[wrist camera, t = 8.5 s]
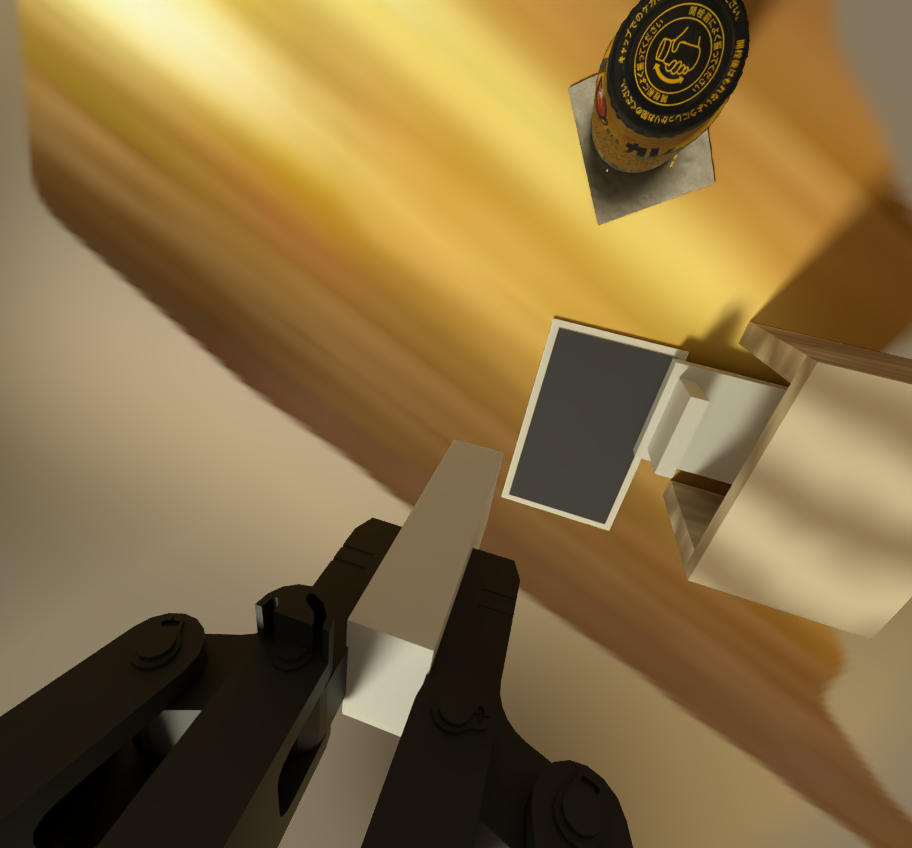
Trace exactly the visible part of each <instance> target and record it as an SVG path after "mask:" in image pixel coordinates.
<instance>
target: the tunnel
mask: <svg viewBox="0 0 912 848" xmlns="http://www.w3.org/2000/svg"><path fill="white" fill-rule="evenodd" d="M739 344H740V345H741V346H743V347H744V348H745V349H747V350H748V351H749V352H750V353H752V354H753V355H754V356H756V357H757V358H758V359H759V360H761V361H762V362H763V363H765V364H766V365H767V366H769V367H770V368H771V369H772V370H774V371H775V372H776V373H778V374H779V375H780V376H782V377H783V378H784V379H785V380H787V381H788V382H789V383H791V384H790V386H789V387H788V389H787V391H786V393H785V394H784V396H783V398H782V400H781V401H780V403H779V405H778V406H777V408H776V410H775V412H774V413H773V415H772V417H771V419H770V420H769V422H768V424H767V425H766V427H765V429H764V431H763V432H762V434H761V436H760V438H759V439H758V441H757V443H756V444H755V446H754V448H753V450H752V451H751V453H750V455H749V457H748V458H747V460H746V462H745V463H744V465H743V467H742V469H741V470H740V472H739V474H738V476H737V477H736V479H735V481H734V482H733V484H732V486H731V488H730V489H729V491H728V493H727V495H726V496H723V495H720V494H717V493H713V492H710V491H706V490H703V489H699V488H696V487H693V486H689V485H686V484H682V483H679V482H675V481H672V480H670V482H669V484H668V486H667V488H666V490H665V492H664V494H663V497H664V500H665V504H666V507H667V511H668V514H669V517H670V521H671V524H672V528H673V531H674V534H675V538H676V541H677V545H678V548H679V551H680V555H681V558H682V562H683V565H684V568H685V572H686V575H687V579H688V580H689V581H692V582H695V583H698V584H701V585H704V586H707V587H710V588H714V589H717V590H720V591H723V592H726V593H729V594H732V595H735V596H738V597H741V598H745V599H748V600H751V601H754V602H757V603H760V604H763V605H766V606H769V607H772V608H776V609H779V610H782V611H785V612H788V613H791V614H794V615H797V616H800V617H803V618H806V619H810V620H813V621H816V622H819V623H822V624H825V625H828V626H831V627H834V628H837V629H841V630H844V631H847V632H850V633H853V634H856V635H859V636H862V637H866V638H869V639H872V638H873V637H874V636H875V635H876V634H877V633H878V632H879V630H881V629H882V628H883V627H884V626H885V624H886V623H887V622H888V621H889V620H890V619H891V618H892V617H893V616H894V615H895V614H896V613H897V612H898V611H899V610H900V608H901V607H902V606H903V605H904V604H905V603H906V602H907V601H908V600H909V599H910V598H911V597H912V360H911V359H907V358H903V357H898V356H894V355H890V354H886V353H881V352H877V351H873V350H868V349H864V348H860V347H856V346H851V345H847V344H843V343H839V342H834V341H830V340H826V339H822V338H817V337H813V336H809V335H804V334H800V333H796V332H792V331H787V330H783V329H779V328H775V327H770V326H766V325H762V324H757V323H753V322H749V324H748V326H747V328H746V330H745V332H744V334H743V336H742V338H741V340H740V342H739Z"/></svg>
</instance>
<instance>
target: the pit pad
mask: <svg viewBox="0 0 912 848" xmlns="http://www.w3.org/2000/svg"><path fill="white" fill-rule="evenodd" d="M688 354H689V352H688V351H684V350H680V349H676V348H672V347H668V346H664V345H660V344H656V343H652V342H648V341H644V340H640V339H636V338H632V337H628V336H624V335H620V334H616V333H612V332H608V331H604V330H600V329H596V328H592V327H588V326H584V325H580V324H576V323H572V322H568V321H564V320H560V319H556V318H553V322H552V325H551V329H550V332H549V336H548V339H547V342H546V346H545V349H544V353H543V356H542V359H541V363H540V366H539V370H538V373H537V377H536V380H535V383H534V387H533V390H532V394H531V397H530V401H529V404H528V407H527V411H526V414H525V418H524V421H523V424H522V428H521V431H520V435H519V438H518V442H517V445H516V448H515V452H514V455H513V459H512V462H511V465H510V469H509V472H508V476H507V479H506V483H505V486H504V489H503V493H502V496H501V497H503V498H507V499H510V500H513V501H516V502H519V503H522V504H526V505H529V506H532V507H535V508H538V509H542V510H545V511H548V512H551V513H554V514H557V515H561V516H564V517H567V518H570V519H573V520H576V521H580V522H583V523H586V524H589V525H592V526H596V527H599V528H602V529H605V530H608V531H609V530H610V528H611V526H612V523H613V521H614V519H615V517H616V514H617V512H618V510H619V508H620V506H621V503H622V501H623V499H624V497H625V494H626V492H627V490H628V488H629V486H630V483H631V481H632V479H633V477H634V474H635V472H636V470H637V468H638V466H639V463H640V461H641V458H638V457H635V456H634V451H633V449H634V447H635V444H636V442H637V440H638V438H639V435H640V433H641V431H642V428H643V426H644V424H645V421H646V419H647V417H648V415H649V412H650V410H651V408H652V405H653V403H654V401H655V398H656V396H657V394H658V392H659V389H660V387H661V385H662V382H663V380H664V378H665V375H666V373H667V371H668V369H669V366H670V364H671V362H672V359H673V358H675V359H679V360H683V361H686V359H687V357H688Z"/></svg>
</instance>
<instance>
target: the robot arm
mask: <svg viewBox="0 0 912 848" xmlns="http://www.w3.org/2000/svg"><path fill="white" fill-rule="evenodd" d="M503 454H504V452H500V451H496V450H493V449H489V448H485V447H482V446H478V445H474V444H471V443H467V442H464V441H460V440H456V439H454V440H453V442H452V444H451V445H450V447H449V449H448V450H447V452H446V454H445V455H444V457H443V459H442V460H441V462H440V464H439V466H438V467H437V469H436V471H435V472H434V474H433V476H432V477H431V479H430V481H429V483H428V484H427V486H426V488H425V489H424V491H423V493H422V494H421V496H420V498H419V499H418V501H417V503H416V505H415V506H414V508H413V510H412V511H411V513H410V515H409V516H408V518H407V520H406V522H405V523H404V525H403V527H401V526H397V525H394V524H391V523H388V522H385V521H381V520H378V519H375V518H371V519H370V520H368V521H367V522H365V523H363V524H362V525H360V526H358V527H357V528H355V529H354V531H353V532H352V533H351V535H350V536H349V538H348V539H347V540H346V542H345V543H344V545H343V547H341V548H340V550H339V551H338V552H337V554H336V555H335V557H334V559H333V561H331V562H330V563H329V565H328V566H327V568H326V569H325V570H324V571H323V573H322V574H321V576H320V577H319V578H318V580H317V581H316V583H315V584H314V585H313V586H306V585H300V584H298V585H291V586H284V587H281V588H279V589H277V590H274V591H272V592H271V593H268V594H267V595H265V596H264V597H263V598H262V599H261V600H260V601H258V602H257V603H256V604H255V608H256V619H257V628H258V629H257V630H258V633H256V634H247V635H228V634H226V635H225V634H205V633H204V628H203V627H202V625H201V624H200V623H199V621H198V620H197V619H196V618H193V617H191V616H189V615H187V614H178V613H168V614H164V615H160V616H156V617H152V618H150V619H148V620H146V621H144V622H142V623H140V624H138V625H136V626H134V627H133V628H131V629H130V630H128V631H127V632H125V633H124V634H122V635H121V636H119V637H118V638H116V639H115V640H113V641H112V642H110V643H109V644H107V645H106V646H104V647H103V648H101V649H100V650H98V651H97V652H96V653H94V654H93V655H91V656H90V657H88V658H87V659H85V660H84V661H82V662H81V663H79V664H78V665H76V666H75V667H74V668H72V669H70V670H69V671H67V672H66V673H64V674H63V675H61V676H60V677H58V678H57V679H55V680H54V681H53V682H51V683H50V684H48V685H47V686H45V687H44V688H42V689H41V690H39V691H38V692H36V693H35V694H33V695H32V696H30V697H29V698H27V699H26V700H24V701H23V702H21V703H20V704H18V705H17V706H16V707H14V708H13V709H11V710H10V711H8V712H7V713H5V714H4V715H2V716H1V717H0V848H277V847H278V845H279V843H280V841H281V839H282V837H283V835H284V833H285V831H286V829H287V827H288V825H289V823H290V821H291V819H292V816H293V814H294V812H295V810H296V808H297V806H298V804H299V802H300V800H301V798H302V796H303V794H304V792H305V790H306V788H307V786H308V784H309V782H310V779H311V778H312V775H313V773H314V771H315V769H316V767H317V765H318V763H319V761H320V759H321V757H322V755H323V753H324V751H325V749H326V746H327V743H328V740H329V736H330V730H331V723H332V721H333V719H334V717H335V715H336V713H337V711H338V709H339V707H340V705H341V703H342V701H343V709H342V713H343V714H345V715H347V716H350V717H352V718H355V719H358V720H360V721H362V722H365V723H367V724H370V725H372V726H375V727H377V728H380V729H383V730H385V731H387V732H390V733H393V734H395V735H398V736H400V737H401V738H400V741H399V744H398V746H397V749H396V752H395V755H394V757H393V760H392V763H391V766H390V769H389V771H388V774H387V777H386V780H385V782H384V785H383V788H382V791H381V793H380V796H379V799H378V802H377V804H376V807H375V810H374V813H373V816H372V819H371V821H370V824H369V827H368V829H367V832H366V835H365V838H364V841H363V843H362V846H361V848H633V845H632V841H631V837H630V833H629V829H628V825H627V821H626V818H625V816H624V813H623V811H622V808H621V806H620V803H619V800H618V798H617V797H616V795H615V794H614V793H613V791H612V790H611V788H610V787H609V786H608V784H607V783H606V782H605V780H604V779H603V778H602V777H600V776H599V775H598V774H597V773H595V772H594V771H593V770H592V769H590V768H589V767H588V766H586V765H582V764H580V763H577V762H574V761H571V760H567V761H559V762H553V763H551V762H550V761H549V760H548V759H546V758H545V757H544V756H543V755H541V754H540V753H539V752H538V751H536V750H535V749H534V748H533V747H531V746H530V745H529V744H528V743H526V742H525V741H524V740H523V739H522V738H521V737H520V736H519V735H518V734H517V733H516V732H515V730H514V729H513V727H512V726H511V724H510V723H509V721H508V720H507V717H506V715H505V712H504V710H503V707H502V702H501V697H500V687H501V686H500V685H501V679H502V673H503V668H504V663H505V657H506V652H507V647H508V641H509V636H510V631H511V625H512V619H513V615H514V609H515V604H516V599H517V593H518V588H519V583H520V579H519V575H518V572H517V568H516V565H515V562H514V561H513V560H510V559H507V558H503V557H500V556H497V555H494V554H491V553H488V552H484V551H481V550H478V549H479V546H480V543H481V540H482V537H483V533H484V530H485V527H486V524H487V520H488V516H489V512H490V508H491V503H492V499H493V495H494V491H495V487H496V483H497V479H498V475H499V470H500V466H501V462H502V458H503Z"/></svg>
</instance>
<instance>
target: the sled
mask: <svg viewBox="0 0 912 848" xmlns="http://www.w3.org/2000/svg"><path fill="white" fill-rule="evenodd" d="M787 389H788V387H786V386H782V385H779V384H775V383H771V382H767V381H763V380H759V379H755V378H751V377H747V376H743V375H739V374H735V373H731V372H727V371H723V370H719V369H715V368H711V367H707V366H703V365H699V364H695V363H691V362H687V361H683V360H679V359H675V358H673V359H672V362H671V364H670V366H669V369H668V371H667V373H666V375H665V378H664V380H663V382H662V385H661V387H660V389H659V392H658V394H657V396H656V398H655V401H654V403H653V405H652V408H651V410H650V412H649V415H648V417H647V419H646V421H645V424H644V426H643V428H642V431H641V433H640V435H639V438H638V440H637V442H636V444H635V447H634V449H633V451H634V456H635V457H638V458H641V459H645V460H648V461H651V463H652V467H653V470H654V474H658V475H661V476H665V477H668V478H671V479H672V477H673V475H674V473H675V471H676V469H680V470H683V471H687V472H690V473H694V474H697V475H701V476H704V477H708V478H711V479H714V480H718V481H721V482H725V483H728V484H733V482H734V481H735V479H736V477H737V476H738V474H739V472H740V470H741V469H742V467H743V465H744V463H745V462H746V460H747V458H748V457H749V455H750V453H751V451H752V450H753V448H754V446H755V444H756V443H757V441H758V439H759V438H760V436H761V434H762V432H763V431H764V429H765V427H766V425H767V424H768V422H769V420H770V419H771V417H772V415H773V413H774V412H775V410H776V408H777V406H778V405H779V403H780V401H781V400H782V398H783V396H784V394H785V393H786V391H787Z"/></svg>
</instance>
